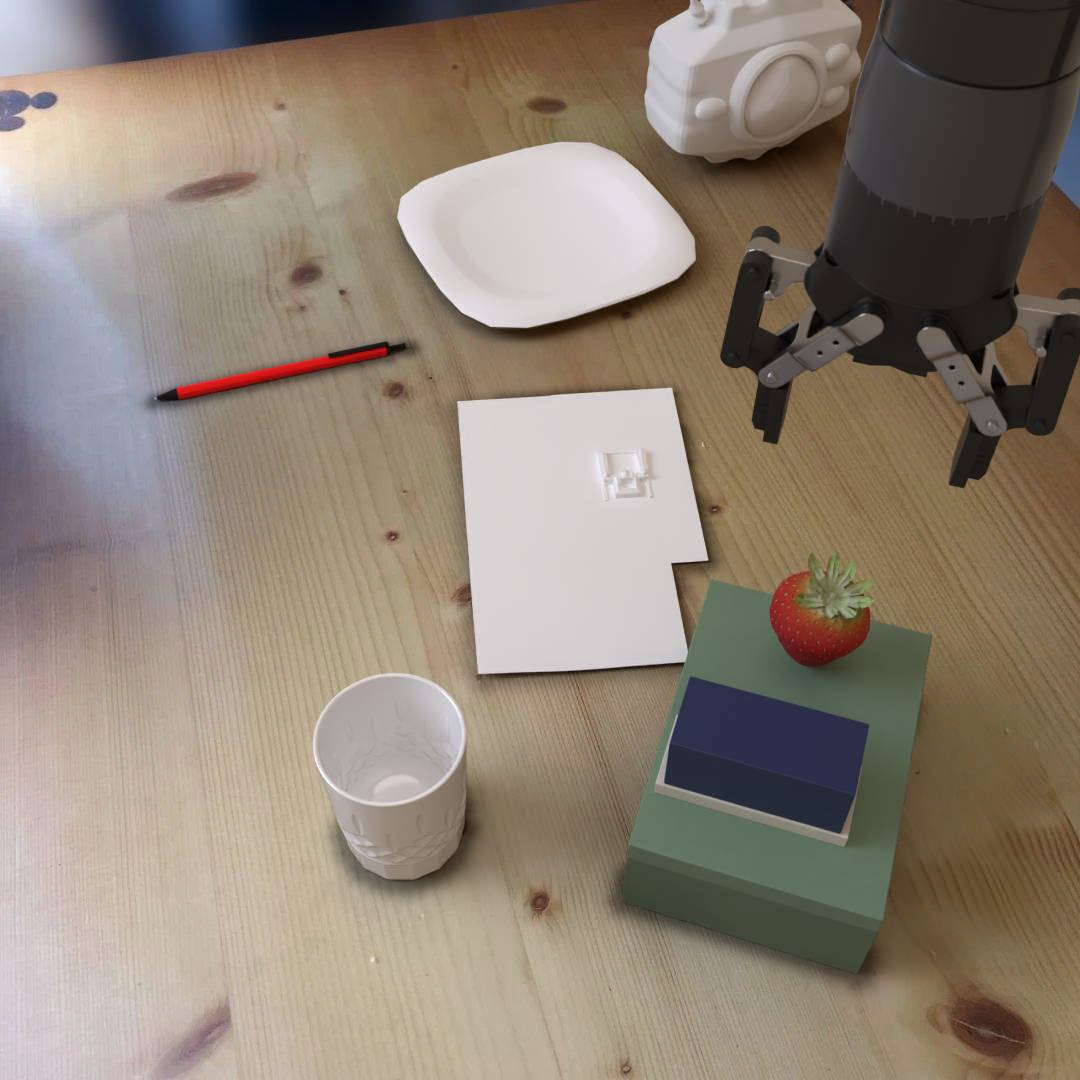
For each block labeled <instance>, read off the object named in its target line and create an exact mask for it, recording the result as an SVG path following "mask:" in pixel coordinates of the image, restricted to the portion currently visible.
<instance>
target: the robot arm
mask: <svg viewBox="0 0 1080 1080" xmlns="http://www.w3.org/2000/svg"><path fill="white" fill-rule="evenodd" d="M1079 95H1080V0H882V1H881V6H880V11H879V15H878V19H877V22H876V27H875V30H874V34H873V36H872V39H871V42H870V45H869V47H868V49H867V53H866V55H865V58H864V60H863V64H862V66H861V70H860V73H859V76H858V81H857V84H856V89H855V93H854V98H853V100H852V104H851V107H850V108H851V109H850V115H849V116H850V118H849V123H848V128H847V133H846V137H845V141H844V146H843V151H842V156H841V162H840V166H839V171H838V176H837V181H836V186H835V191H834V195H833V200H832V205H831V209H830V213H829V218H828V223H827V224H828V225H827V228H826V233H825V238H824V240H823V242H822V243H821V244H820V245H819V246H818V247H817V248H816V249H815V250H814V251H809V250H805V249H801V248H797V247H793V246H790V245H786V244H782V243H781V235H780V233H779V232H778V231H777V229H775V228H774V227H772V226H769V225H761V226H757V227H756V228H755V229H753V231H752V234H751V236H750V238H749V241H748V244H747V247H746V250H745V253H744V255H743V259H742V261H741V264H740V267H739V269H738V274H737V278H736V282H735V288H734V291H733V296H732V299H731V305H730V308H729V314H728V318H727V322H726V327H725V330H724V332H725V333H724V336H723V341H722V345H721V348H720V353H719V358H720V361H721V362H722V364H723V365H725V366H726V367H728V368H732V369H741V368H743V367H745V368H747V369H749V370H750V371H751V372H753V373H754V374H755V376H756V378H757V387H756V392H755V397H754V398H755V399H754V404H753V408H752V409H753V410H752V415H751V422H752V425H753V429H755V430H758V431H763V436H762V442H763V443H767V444H772V445H777V446H778V443H779V440H780V437H781V433H782V431H783V427H784V423H785V420H786V415H787V412H788V407H789V403H790V397H791V392H792V387H793V383H794V379H795V378H797V377H799V376H800V375H802V374H803V373H805V372H806V371H809V372H811V373H814V372H817V371H818V370H820V369H821V368H823V367H824V366H826V365H828V364H829V363H831V362H833V361H834V360H836V359H837V358H840V357H841V356H842V355H843V354H845V353H846V354H847V355H850V356H852V363H857V364H862V365H867V366H873V367H874V366H877V367H879V366H880V367H882V366H883V367H892V368H894V369H897V370H899V371H901V372H903V373H906V374H908V375H913V376H917V377H922V378H927V376H928V373H937V372H938V374H939V376H940V378H941V379H942V381H943V384H945V386H946V388H947V389H948V391H949V393H950V395H951V397H952V398H953V400H954V402H955V404H957V405H961V404H962V405H963V406H964V408H965V409H966V411H967V416H966V419H965V422H964V425H963V427H962V431H961V433H960V436H959V438H958V441H957V444H956V447H955V450H954V453H953V457H952V461H951V466H950V474H949V479H948V486H952V487H954V488H955V487H956V488H959V489H965V488H966V485H967V482H968V480H969V479H971V480H975V481H980V480H981V479H982V478H983V477H984V476H985V475H987V472H988V469H989V467H990V465H991V462H992V460H993V456H994V454H995V451H996V449H997V447H998V445H999V442H1000V439H1001V437H1002V435H1003V434H1005V433H1006V432H1007V431H1009V430H1013V429H1025V430H1026V431H1027V433H1029V434H1031V435H1033V436H1036V437H1043V436H1044V437H1045V436H1048V435H1050V434H1052V433H1053V432H1054V431H1055V429H1056V426H1057V423H1058V420H1059V417H1060V415H1061V412H1062V408H1063V406H1064V403H1065V399H1066V397H1067V394H1068V391H1069V388H1070V385H1071V382H1072V379H1073V376H1074V373H1075V370H1076V367H1077V365H1078V361H1079V358H1080V288H1079V287H1067V288H1064V289H1062V290H1061V291H1059V293H1058V294H1057V296H1056V298H1052V297H1044V296H1038V295H1032V294H1024V293H1021V292H1020V289H1019V286H1018V284H1017V279H1018V276H1019V273H1020V270H1021V268H1022V264H1023V262H1024V260H1025V257H1026V253H1027V251H1028V248H1029V245H1030V243H1031V240H1032V237H1033V234H1034V231H1035V228H1036V225H1037V222H1038V220H1039V217H1040V214H1041V213H1042V209H1043V206H1044V203H1045V200H1046V198H1047V194H1048V193H1049V189H1050V186H1051V184H1052V180H1053V177H1054V175H1055V172H1056V169H1057V167H1058V166H1057V165H1058V164H1059V161H1060V158H1061V155H1062V153H1063V150H1064V148H1065V145H1066V142H1067V138H1068V137H1069V133H1070V131H1071V127H1072V124H1073V121H1074V118H1075V114H1076V110H1077V105H1078V101H1079ZM795 283H803V287H804V290H805V293H806V294H807V296H808V298H809V299H810V301H811V302H810V303H809V304H808V305H807V306H806V307H805V308H804V310H803V311H802V313H800V315H799V316H798V317H796V318H795V319H793V320H792V321H791V322H789V323H787V324H786V325H784V326H783V327H781V328H780V329H779V330H777V331H776V332H774V333H773V332H771V331H769V330H767V329H765V328H763V327H761V326H760V322H761V318H762V315H763V311H764V306H765V303H766V301H768V302H770V301H773V300H774V299H775V298H777V297H780V296H782V295H783V294H785V292H786V290H787V288H788V287H789V286H790V285H792V284H795ZM1013 327H1016V328H1020V329H1021V330H1022V331H1023V332H1024V333H1025V334H1026V345H1027V347H1028V348H1029V349H1030V350H1031V351H1033V352H1034V356H1035V357H1037V360H1036V364H1035V367H1034V370H1033V373H1032V377H1031V380H1030V383H1029V384H1012V383H1011V380H1010V379H1009V378H1008V375H1007V374H1006V372H1005V371H1004V368H1003V367H1002V365H1001V363H1000V362H999V360H998V357H997V354H996V353H997V352H996V347H995V343H994V342H995V341H996V340H998V339H999V338H1001V337H1003V336H1005V335H1006V334H1007V333H1009V332H1010V331H1011V330H1012V328H1013Z"/></svg>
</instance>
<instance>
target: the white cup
mask: <svg viewBox="0 0 1080 1080" xmlns="http://www.w3.org/2000/svg"><path fill="white" fill-rule="evenodd" d="M467 746H468V731H467V723H466V719H465V717H464V714H463V711H462V709H461V707H460V705H459V704H458V702H457V701H456V699H455V698H454V697H453V696H452V695H451V694H450V693H449V692H448V691H447V690H446V689H445V688H444V687H442V685H440V684H437V682H434V681H432V680H431V679H428V678H426V677H424V676H420V675H416V674H412V673H407V672H385V673H384V672H383V673H377V674H374V675H370V676H366V677H364V678H361V679H359V680H357V681H355V682H353V683H351V684H349V685H347V686H346V687H345V688H343V689H342V690H340V691H339V692H338V693H337V694H336V695H335V696H333V697H332V698H331V700H330V701H329V702H328V703H327V704H326V706H325V707H324V708H323V710H322V712H321V713H320V715H319V716H318V719H317V721H316V724H315V727H314V731H313V735H312V753H313V758H314V762H315V764H316V768H317V770H318V773H319V776H320V778H321V782H322V784H323V787H324V790H325V793H326V795H327V798H328V801H329V803H330V806H331V809H332V811H333V814H334V816H335V818H336V821H337V823H338V825H339V828H340V829H341V832H342V834H343V835H344V837H345V840H346V843H347V846H348V849H349V850H350V851H351V853H352V854H353V855H354V857H355V858H356V859H357V861H358V862H359V864H360V865H361V866H362V867H363V869H365V870H367V871H368V872H372V873H374V874H375V875H377V876H380V877H382V878H384V879H386V880H409V881H411V880H417V879H420V878H421V877H424V876H427V875H428V874H430V873H433V872H435V871H438V870H440V869H441V868H442V867H443V866H444V864H445V863H446V862H448V860H449V859H450V858H451V857H452V856H453V855H454V854H455V853H456V852H457V850H458V849H459V845H460V842H461V838H462V835H463V832H464V829H465V826H466V825H465V824H466V823H465V821H466V820H465V817H466V816H465V812H466V805H467V804H466V803H467V784H468V763H467V762H468V759H467V756H468V755H467V754H468V752H467V751H468V747H467Z"/></svg>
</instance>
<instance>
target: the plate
mask: <svg viewBox="0 0 1080 1080" xmlns="http://www.w3.org/2000/svg"><path fill="white" fill-rule="evenodd" d="M396 219H397V222H398V224H399V226H400V229H401V231H402V234H403V236H404V238H405V240H406V243H407V245H408V246H409V247H410V249H411V251H412V252H413V254H414V255H415V257H416V258H417V260H418V262H419V263H420V264H421V266H422V268H423V269H424V271H425V272H426V274H428V276H429V278H431V280H432V282H433V284H434V285H435V286H436V288H437V289H438V290H439V292H440V293H441V294H442V295H443V296H444V297H445V298H446V299H447V301H448V302H449V303H450V304H451V305H452V306H453V307H454V308H455V309H456V311H458V312H459V313H460V314H461V315H462V316H464V317H466V318H468V319H470V320H473V321H475V322H477V323H479V324H481V325H483V326H485V327H487V328H489V329H494V330H496V329H497V330H499V329H500V330H531V329H536V328H540V327H544V326H548V325H552V324H558V323H562V322H567V321H570V320H573V319H576V318H579V317H583V316H586V315H589V314H592V313H595V312H598V311H602V310H605V309H608V308H611V307H614V306H617V305H620V304H623V303H625V302H628V301H631V300H634V299H637V298H640V297H642V296H646V295H647V294H648V295H649V294H650V293H652V292H654V291H657V290H658V289H661V288H663V287H665V286H668V285H670V284H673V283H674V282H677V281H678V280H679V279H680V278H681V277H682V276H683V275H685V273H686V272H687V271H688V270H689V269H690V268H691V267H692V266H693V265H694V264H695V263H696V261H697V260H696V259H697V257H696V243H695V242H696V239H695V238H696V237H694V235H693V234H692V232H691V231H690V228H688V226H687V225H686V223H685V221H684V220H683V218H682V216H681V215H680V214H679V213H678V212H677V211H676V210H675V209H674V207H673V206H672V205H671V204H670V203H669V202H668V200H667V199H666V198H665V197H664V196H663V195H662V194H661V192H660V191H658V189H656V187H655V186H654V185H653V184H652V183H651V182H650V181H649V179H648V178H646V177H645V175H644V174H643V173H642V172H641V171H640V170H639V169H637V168H636V167H635V166H634V165H632V164H631V163H630V162H629V161H628V160H627V159H626V158H624V157H623V156H622V155H620V154H619V153H618V152H615V151H613V150H610V149H608V148H606V147H603V146H601V145H598V144H596V143H594V142H587V141H586V142H579V141H556V142H551V143H546V144H541V145H534V146H532V147H531V146H530V147H525V148H520V149H518V150H514V151H511V152H507V153H503V154H499V155H495V156H492V157H489V158H485V159H481V160H478V161H475V162H471V163H468V164H465V165H462V166H458V167H455V168H452V169H449V170H447V171H445V172H442V173H440V174H437V175H434V176H432V177H429V178H426V179H424V180H421V181H420V182H419V183H417V184H416V185H415V186H414V187H412V188H411V189H410V190H409V191H407V192H406V193H405V194H404V195H402V196H401V197H400V200H399V206H398V212H397V215H396Z"/></svg>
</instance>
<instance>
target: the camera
mask: <svg viewBox="0 0 1080 1080" xmlns="http://www.w3.org/2000/svg"><path fill="white" fill-rule="evenodd" d="M861 33H862V20H861V19H860V17H859V15H857V14H856V13H855V12H854V10H852V9H851V8H850V7H849V6H848V5H846V4H845V3H844V2H843V1H842V0H700V1H699V0H689V7H688V9H686V10H684V11H682V12H680V13H679V14H677V15H675V16H673V17H672V18H670V19H668V20H667V21H665V22H663V23H662V24H660V25H659V26H657V28H655V31H654V33H653V35H652V36H653V37H652V40H651V42H650V45H649V49H648V59H649V63H648V69H647V74H646V89H645V92H644V98H643V99H644V105H645V106H644V107H645V112H646V113H645V114H646V118H647V122H648V123H649V124H650V125H651V127H652V128H653V129H654V130H655V132H656V133H657V134H658V136H660V138H661V139H662V140H663V141H664V142H665V143H666V145H668V146H669V147H670V148H671V149H672V150H673V151H674V152H676V153H678V154H681V155H687V156H694V157H695V156H696V157H697V156H698V157H703V158H704V159H705V160H706V161H708V162H709V163H711V164H721V163H725V162H728V161H730V160H733V159H744V160H748V161H755V160H756V159H757V160H758V158H760V157H762V155H764V154H765V153H766V152H768V151H771V149H774V148H782V147H784V146H786V145H788V144H791V143H792V142H793V141H795V140H797V138H799V137H801V136H802V135H803V134H804V133H807V132H809V131H811V130H813V129H814V128H816V127H818V126H820V125H822V124H824V123H826V122H828V121H830V120H832V119H833V118H835V117H838V116H839V115H840V114H842V113H843V112H844V111H845V110H846V108H847V106H848V104H849V100H850V85H851V84H852V82H853V81H854V80H855V79H856V78H857V77H859V75H860V73H861V70H862V61H861V58H860V55H859V53H858V49H857V45H858V43H859V41H860V37H861Z"/></svg>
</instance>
